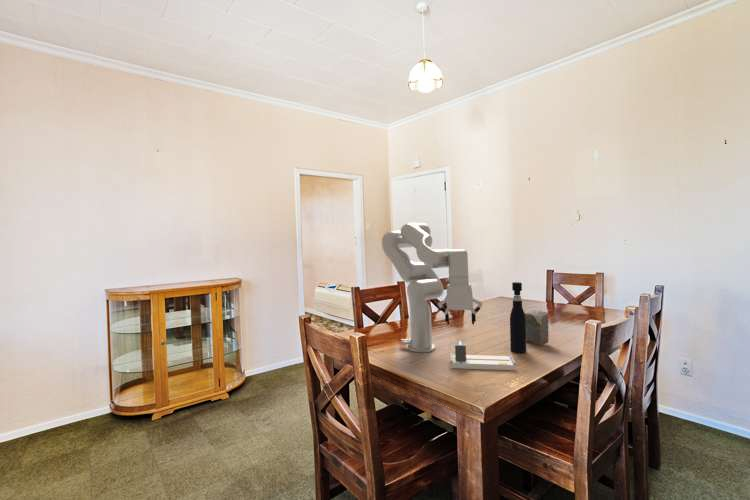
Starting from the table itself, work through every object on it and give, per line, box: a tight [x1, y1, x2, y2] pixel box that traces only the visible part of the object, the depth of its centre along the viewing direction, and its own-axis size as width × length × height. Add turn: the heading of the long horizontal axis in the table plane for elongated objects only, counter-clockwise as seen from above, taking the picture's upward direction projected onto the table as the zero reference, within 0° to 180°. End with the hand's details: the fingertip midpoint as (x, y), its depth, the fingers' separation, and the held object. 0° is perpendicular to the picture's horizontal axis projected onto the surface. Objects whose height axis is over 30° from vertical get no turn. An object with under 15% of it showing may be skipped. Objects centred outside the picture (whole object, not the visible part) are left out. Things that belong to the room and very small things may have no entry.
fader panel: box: [449, 352, 517, 371], centre depth 142 cm, size 24×10×3 cm, turn 78°
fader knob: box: [454, 340, 467, 361], centre depth 144 cm, size 4×6×6 cm, turn 168°
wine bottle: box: [509, 281, 527, 355], centre depth 156 cm, size 6×6×30 cm
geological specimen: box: [524, 309, 549, 346], centre depth 168 cm, size 11×6×15 cm, turn 25°
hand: (460, 323), depth 143 cm, fingers open, 9 cm apart
